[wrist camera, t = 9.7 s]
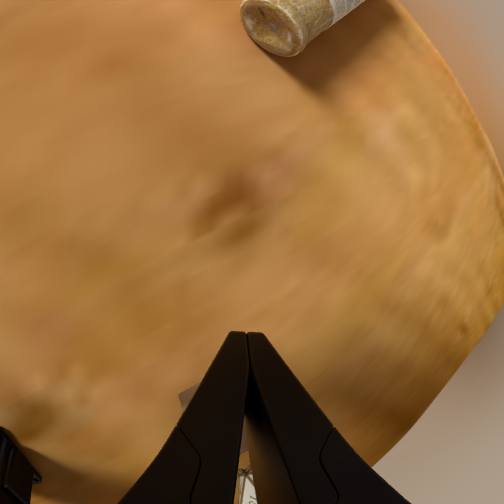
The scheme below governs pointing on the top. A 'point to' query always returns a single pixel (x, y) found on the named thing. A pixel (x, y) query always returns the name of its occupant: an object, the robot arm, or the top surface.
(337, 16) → the sprinkles bottle
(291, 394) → the robot arm
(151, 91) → the top surface
